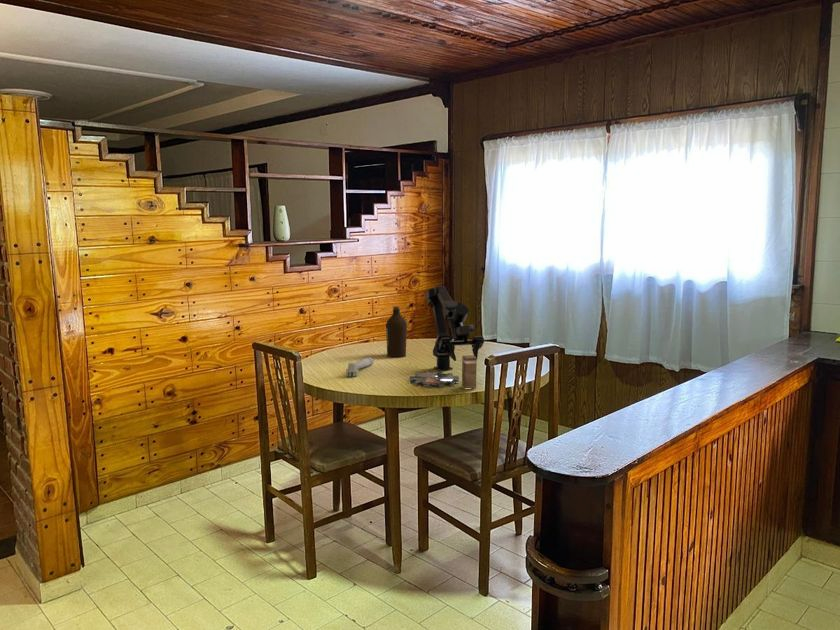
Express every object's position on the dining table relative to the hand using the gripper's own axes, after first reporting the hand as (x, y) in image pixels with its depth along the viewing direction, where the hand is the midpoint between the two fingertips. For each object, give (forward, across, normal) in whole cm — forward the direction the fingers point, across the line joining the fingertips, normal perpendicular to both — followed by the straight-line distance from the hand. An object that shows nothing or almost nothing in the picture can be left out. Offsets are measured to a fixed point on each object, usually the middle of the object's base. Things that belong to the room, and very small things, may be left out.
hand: (466, 360), depth 256 cm
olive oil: (-37, -15, +52) cm, 65 cm away
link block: (+10, 0, +5) cm, 11 cm away
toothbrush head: (-18, -38, +33) cm, 53 cm away
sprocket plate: (0, -11, +15) cm, 18 cm away
